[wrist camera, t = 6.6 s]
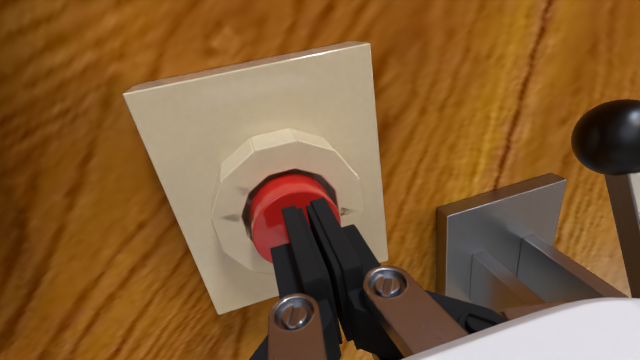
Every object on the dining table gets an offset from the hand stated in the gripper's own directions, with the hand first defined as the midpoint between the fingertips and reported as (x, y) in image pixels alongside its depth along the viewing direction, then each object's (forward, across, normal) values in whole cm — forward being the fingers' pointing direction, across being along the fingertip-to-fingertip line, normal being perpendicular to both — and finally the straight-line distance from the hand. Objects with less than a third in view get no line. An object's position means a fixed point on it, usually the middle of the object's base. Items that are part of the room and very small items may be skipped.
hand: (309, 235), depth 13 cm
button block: (+6, 0, 0) cm, 6 cm away
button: (+2, 0, 0) cm, 2 cm away
